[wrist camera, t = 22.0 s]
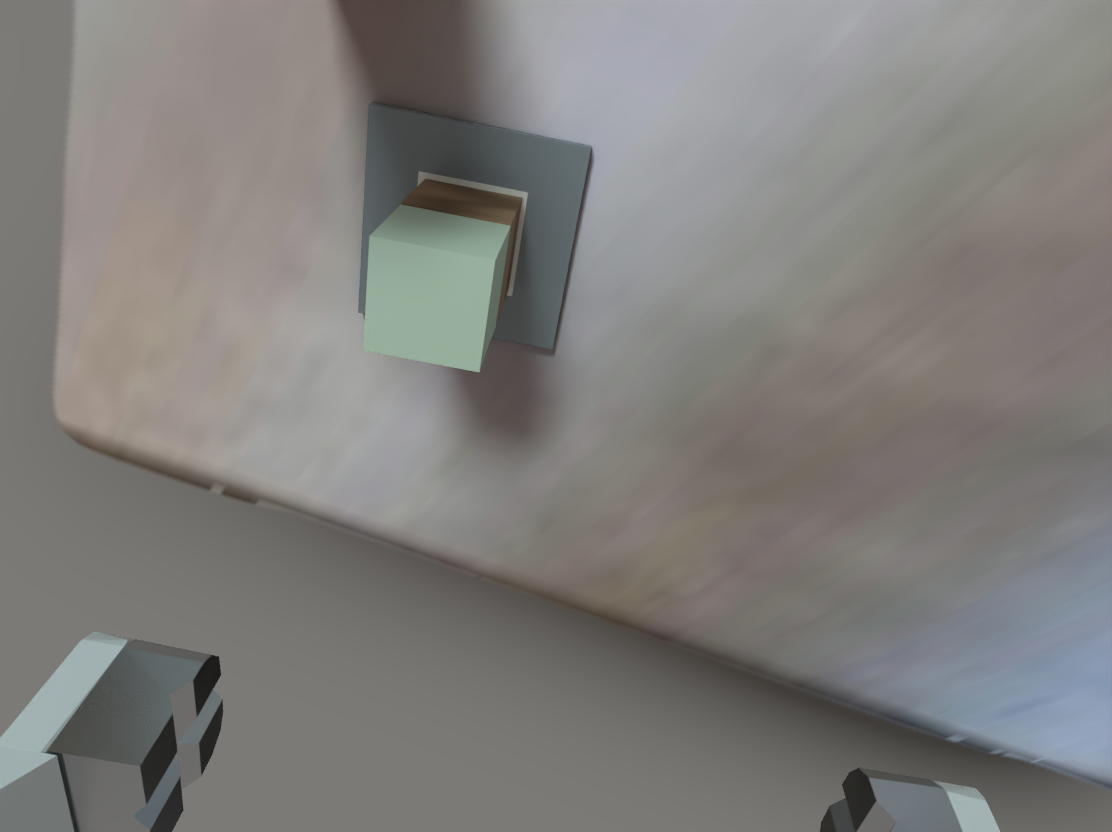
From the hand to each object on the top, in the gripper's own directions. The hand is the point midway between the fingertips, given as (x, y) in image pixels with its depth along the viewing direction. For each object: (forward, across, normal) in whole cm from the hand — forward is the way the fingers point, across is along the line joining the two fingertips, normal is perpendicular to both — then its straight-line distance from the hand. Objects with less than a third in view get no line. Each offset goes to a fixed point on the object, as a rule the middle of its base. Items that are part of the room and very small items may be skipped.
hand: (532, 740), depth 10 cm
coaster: (+33, +6, +4) cm, 34 cm away
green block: (+27, +6, +4) cm, 28 cm away
